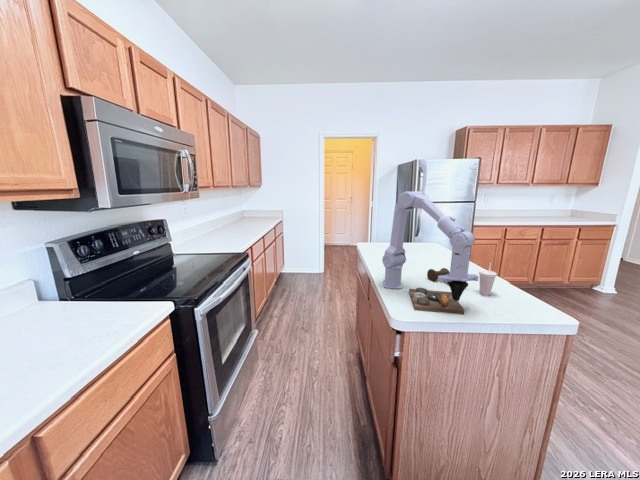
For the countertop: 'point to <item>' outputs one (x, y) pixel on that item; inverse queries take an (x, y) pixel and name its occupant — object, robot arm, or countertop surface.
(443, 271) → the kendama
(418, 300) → the base
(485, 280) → the smoothie
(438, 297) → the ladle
